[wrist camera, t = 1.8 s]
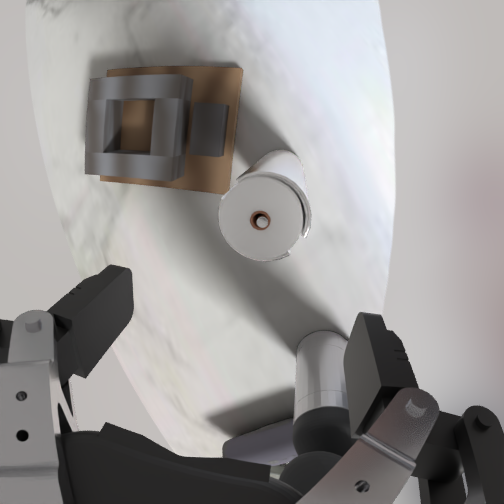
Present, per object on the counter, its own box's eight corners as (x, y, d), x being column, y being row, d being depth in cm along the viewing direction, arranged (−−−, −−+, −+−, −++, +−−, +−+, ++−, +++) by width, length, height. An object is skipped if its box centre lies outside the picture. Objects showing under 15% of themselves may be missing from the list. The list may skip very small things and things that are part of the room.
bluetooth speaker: (248, 448, 68) (242, 480, 59) (225, 428, 66) (216, 462, 57) (333, 421, 61) (334, 457, 52) (312, 398, 59) (312, 437, 50)
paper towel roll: (267, 200, 46) (234, 278, 23) (251, 158, 44) (199, 192, 21) (310, 186, 44) (324, 252, 21) (295, 143, 42) (293, 159, 19)
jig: (243, 70, 39) (234, 60, 33) (228, 192, 46) (218, 202, 40) (112, 71, 41) (89, 66, 35) (105, 179, 48) (82, 187, 42)
